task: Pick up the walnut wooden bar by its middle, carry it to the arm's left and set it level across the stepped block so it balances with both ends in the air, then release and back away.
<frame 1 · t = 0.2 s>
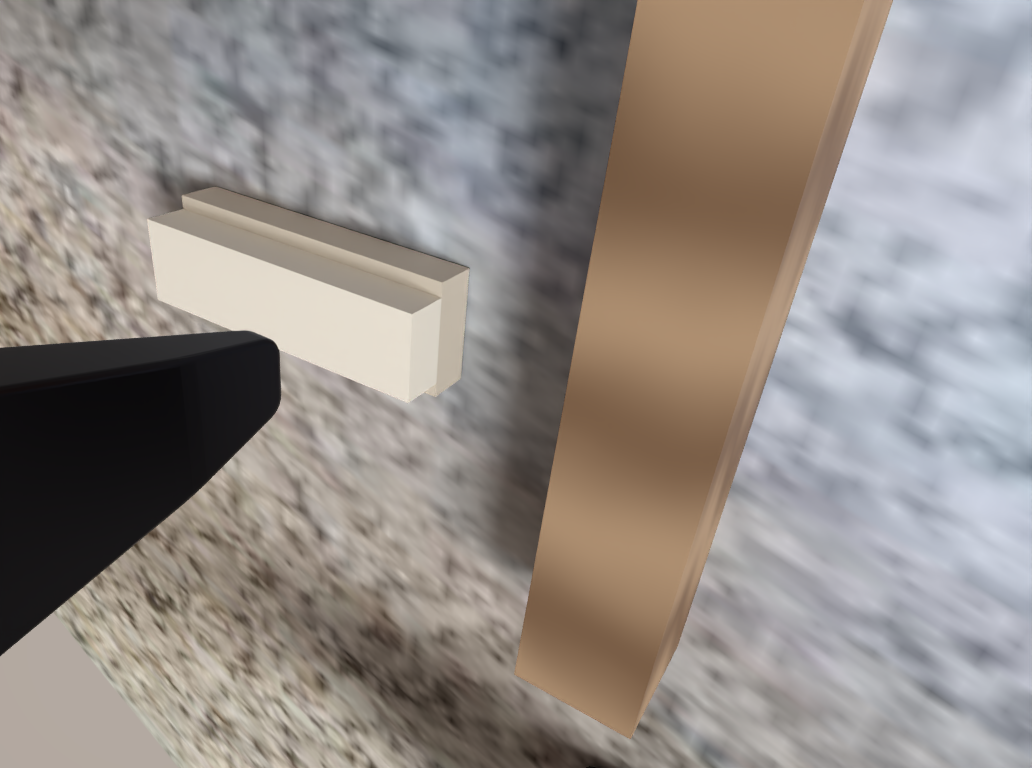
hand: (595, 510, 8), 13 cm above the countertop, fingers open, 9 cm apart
walnut bar: (694, 368, 23), on the countertop
stepped block: (333, 278, 28), on the countertop
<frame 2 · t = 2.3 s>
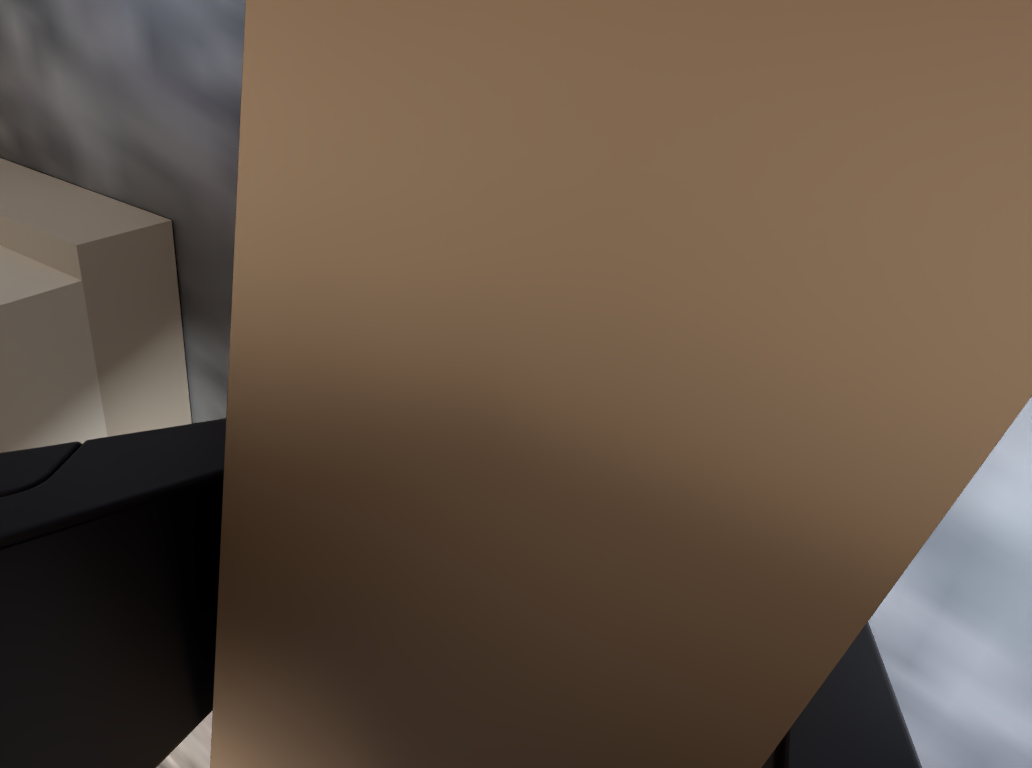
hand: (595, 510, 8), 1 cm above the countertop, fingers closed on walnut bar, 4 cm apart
walnut bar: (639, 457, 9), on the countertop, touching gripper
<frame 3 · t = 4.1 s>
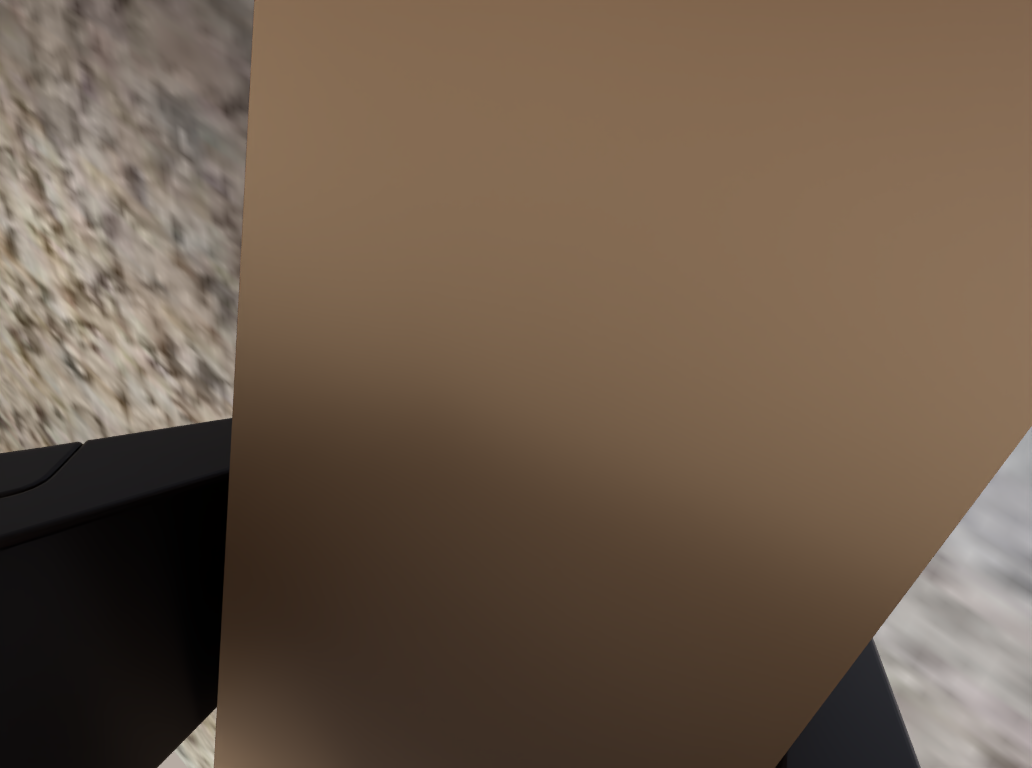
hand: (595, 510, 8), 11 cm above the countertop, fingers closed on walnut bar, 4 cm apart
walnut bar: (644, 454, 9), point 10 cm above the countertop, touching gripper
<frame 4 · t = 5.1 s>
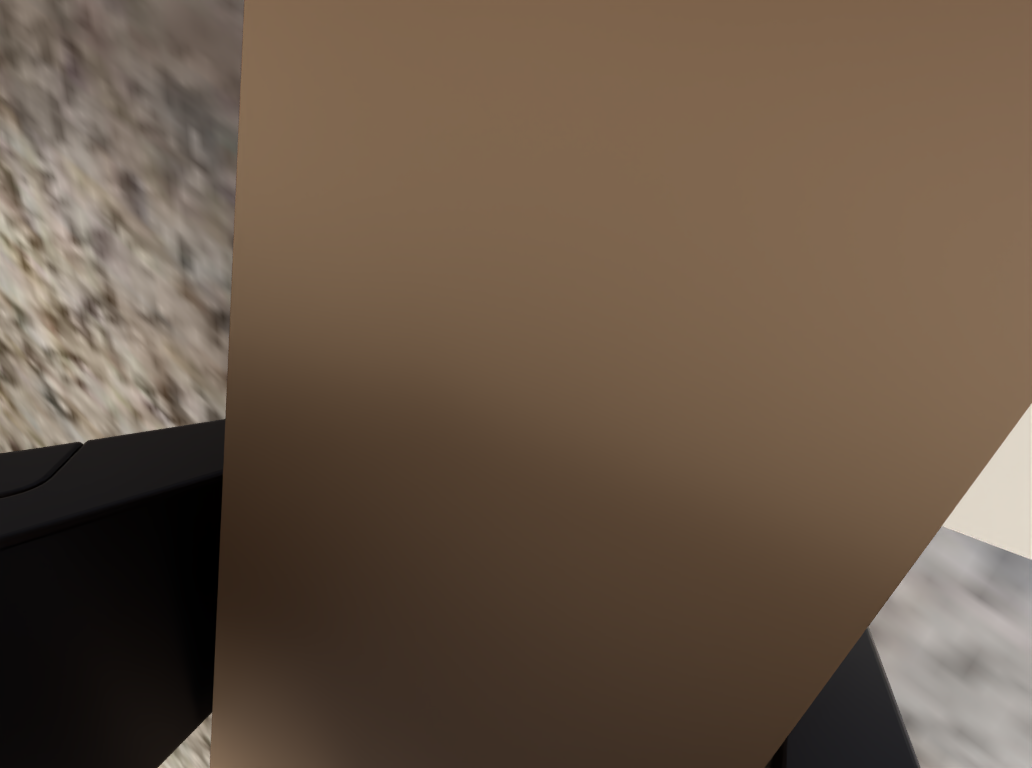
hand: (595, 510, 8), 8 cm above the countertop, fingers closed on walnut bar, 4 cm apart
walnut bar: (641, 452, 9), point 6 cm above the countertop, touching gripper
stepped block: (763, 292, 14), on the countertop
when the fingers open (5 cm above the countertop, at t = 5.9 s): walnut bar stays where it is, resting on stepped block.
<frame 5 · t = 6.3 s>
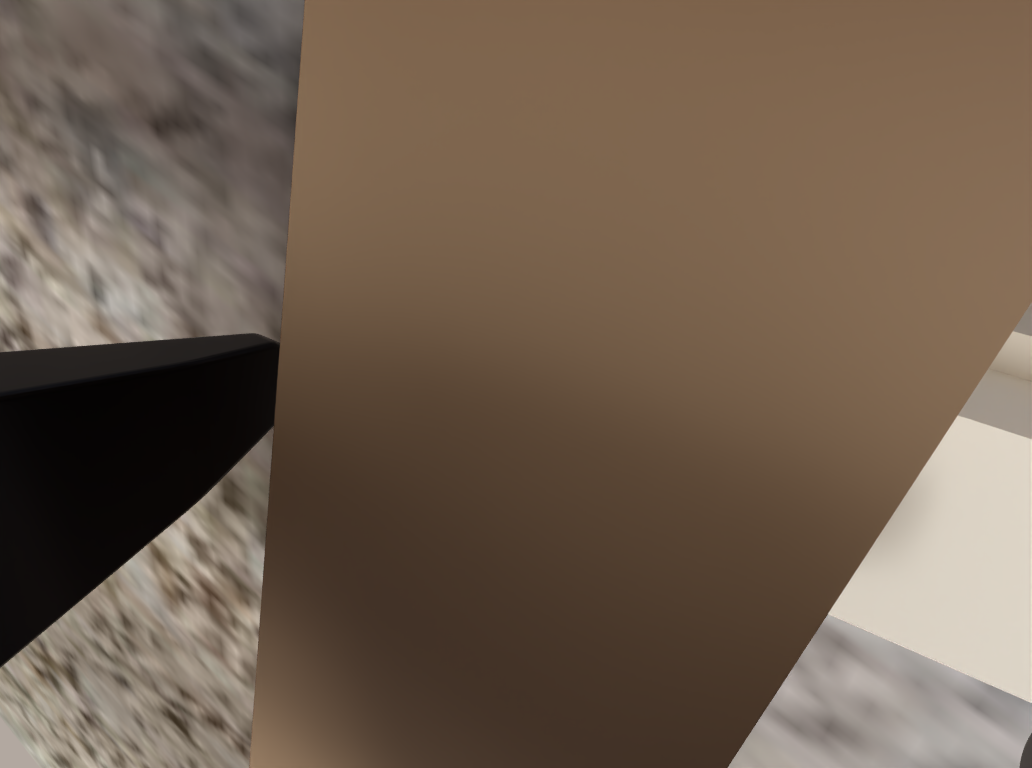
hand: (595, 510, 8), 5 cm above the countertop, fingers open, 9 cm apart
walnut bar: (654, 430, 10), point 3 cm above the countertop, touching stepped block
stepped block: (721, 349, 12), on the countertop
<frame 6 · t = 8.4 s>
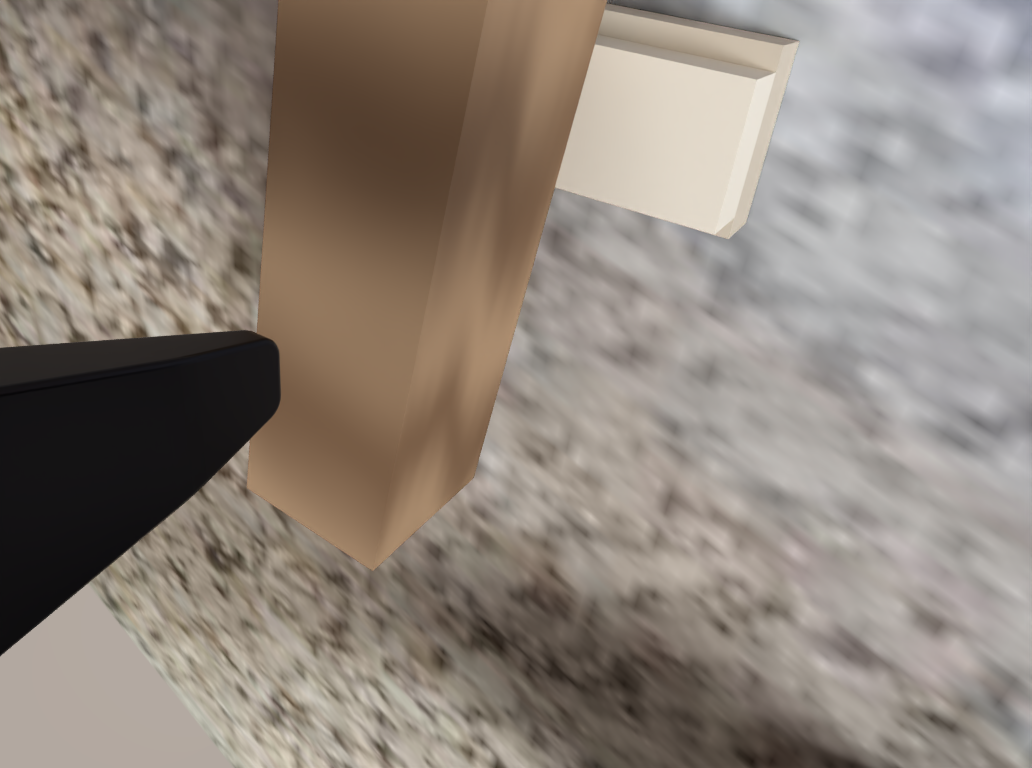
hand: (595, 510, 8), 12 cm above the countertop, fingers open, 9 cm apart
walnut bar: (492, 95, 17), point 3 cm above the countertop, touching stepped block
stepped block: (553, 84, 20), on the countertop
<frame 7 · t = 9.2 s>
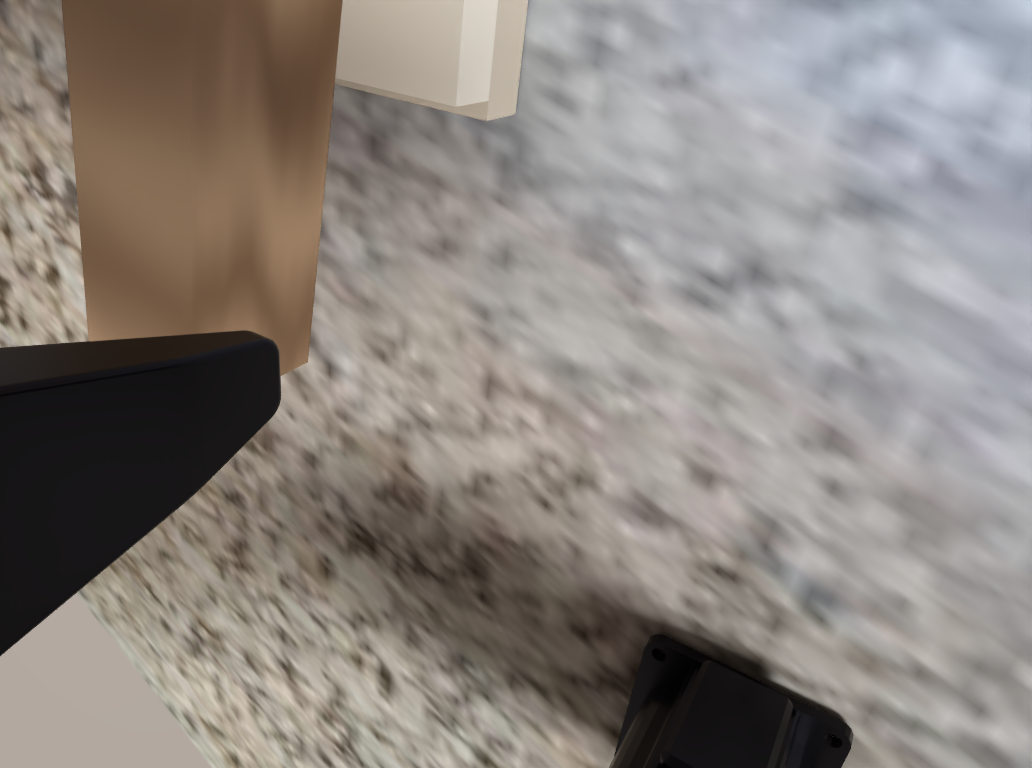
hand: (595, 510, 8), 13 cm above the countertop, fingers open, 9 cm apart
stepped block: (355, 2, 22), on the countertop
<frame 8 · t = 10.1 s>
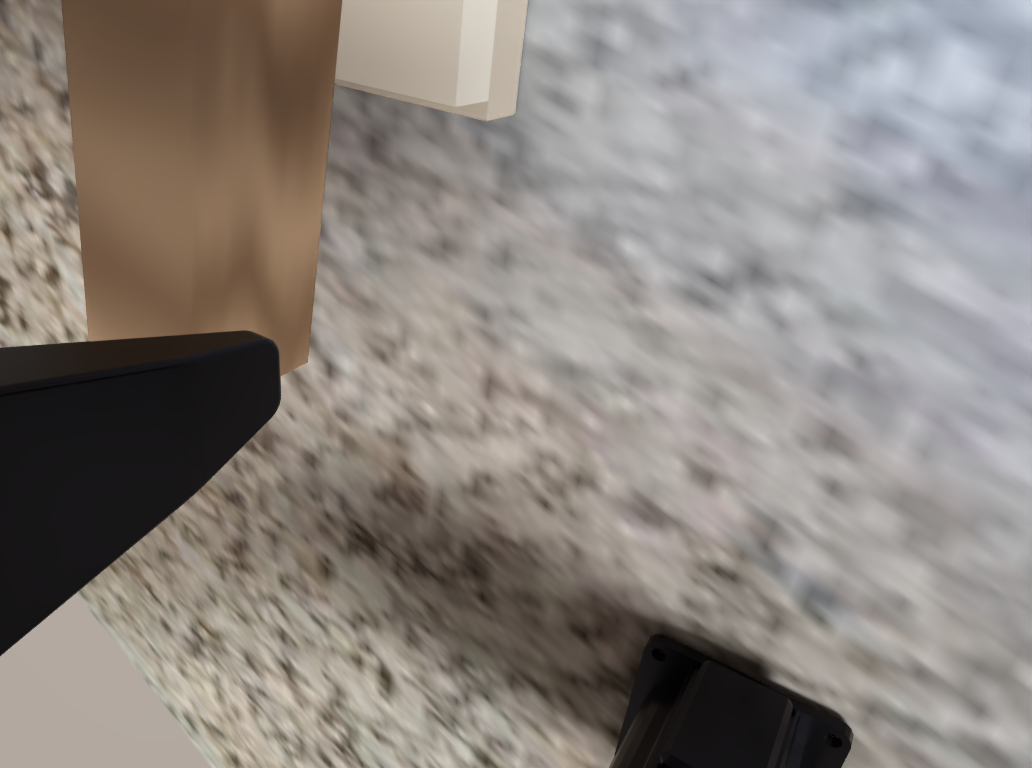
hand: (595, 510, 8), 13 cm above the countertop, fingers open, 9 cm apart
walnut bar: (279, 0, 20), point 3 cm above the countertop, touching stepped block
stepped block: (355, 2, 22), on the countertop
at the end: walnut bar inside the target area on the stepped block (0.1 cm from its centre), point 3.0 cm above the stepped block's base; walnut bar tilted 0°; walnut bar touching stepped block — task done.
